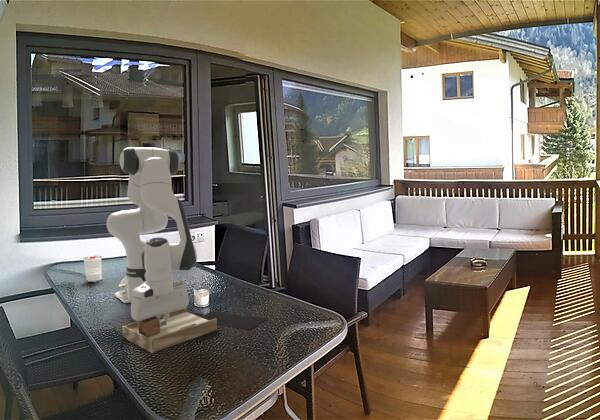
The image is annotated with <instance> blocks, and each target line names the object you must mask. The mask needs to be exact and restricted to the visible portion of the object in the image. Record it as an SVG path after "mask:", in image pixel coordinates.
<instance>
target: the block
mask: <svg viewBox="0 0 600 420" xmlns="http://www.w3.org/2000/svg"><path fill="white" fill-rule="evenodd" d="M137 322H138V328H139V333H140V334H142V335H144V336H146V337H150V336H153V335H155V334H158V333H160V324H159V318H157V317H151V318H147V319H144V320H141V321H137Z"/></svg>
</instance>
